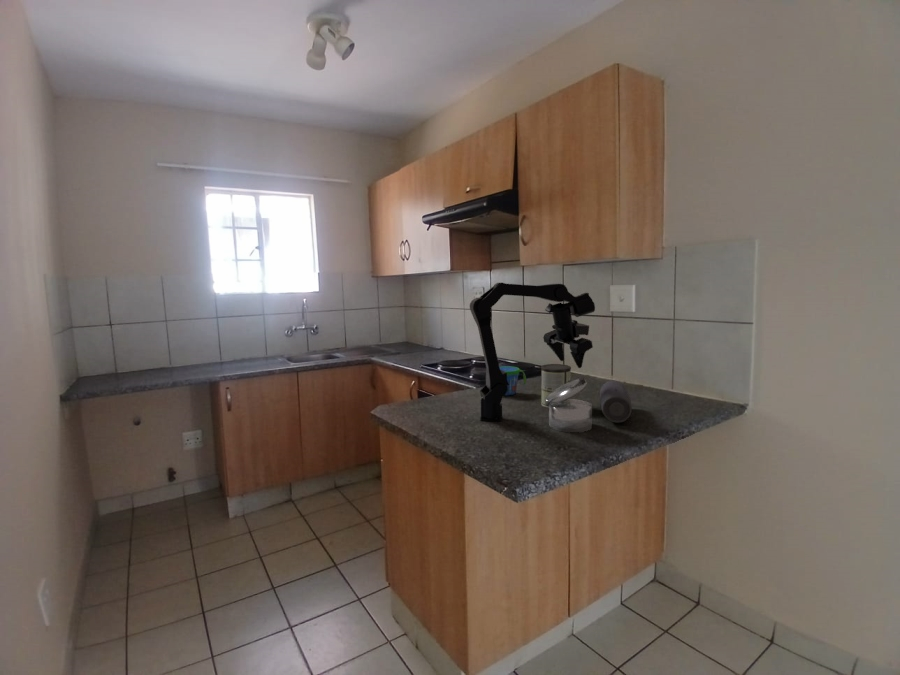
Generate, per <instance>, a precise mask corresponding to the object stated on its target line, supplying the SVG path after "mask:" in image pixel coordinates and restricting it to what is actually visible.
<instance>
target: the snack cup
mask: <svg viewBox="0 0 900 675" xmlns="http://www.w3.org/2000/svg"><path fill="white" fill-rule="evenodd" d="M499 368H500V370H503V371H505V372H506V373H507V381H508V383H509V385H507V386H508V391H507V392H506V394H505V395H504V396H513V395H515V394H516V393H517V389H518V388H517V387H518V381H519V380H518V379H519V375H520V373H522V376H523V386H525V385H526V384H527V377H526V376H527V375H526V373H525V372H524V370H522V369H520V368H519V367H517V366H508V365H507V366H506V365H505V366H499Z"/></svg>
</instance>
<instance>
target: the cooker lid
mask: <svg viewBox="0 0 900 675" xmlns="http://www.w3.org/2000/svg"><path fill="white" fill-rule="evenodd" d="M587 386H588V382H587V380H586V379H585V378H584V377H583V375H582V373H580V374H578V375H577V379H573V380H570V382H568V383H566V384H564V385H562V386H560V387H559V388H557V389H556V390H554V391H553V392H552V393H550V394H549V395H548V397H546V398H545V401H546V405H550V404H558V403H561V402H563V401H566V400H568V399H573V398H574V397H575V396H577V395H578V394H580V393H581V392H582V391H583V390H584V389H585V388H587Z"/></svg>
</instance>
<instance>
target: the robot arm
mask: <svg viewBox="0 0 900 675" xmlns="http://www.w3.org/2000/svg"><path fill="white" fill-rule="evenodd" d="M568 290H569V289H568V287H566V285H565V284H564V283H549V284H541V285H531V284H516V283H505V282H496V283H495V284H494V285H493V286H492V287H491V288H489V289H488V290H486V292H484V293H483V294H482V295H480V296H479V297H475V298H473V299H472V300H471V301H470V303H469V311H470V312H471V316H472V317H473V320H474V323H475V324H476V327H477V330H478V334H479V339H480V343H481V347H482V352H483V358H484V363H485V368H486V370H485V385H483V387H482V388H481V389H480V390H479V394H480V396H481V399H480V418H479V421H488V422H489V421H490V422H492V421H493V422H501V420H502V419H501V418H503V403H502V400H503V397H504V396H506V395H505V394H506V392H507V391H508V386H507V385H509V383H508V381H507V373H506V372H505V371H503V370H500V368H499V367H500V365H499V359H498V355H497V354H498V353H497V350H496V345H495V340H494V333H493V329H492V316H493V315H492V308H493V307H494V306H495V305H496V304H497V303H498V301H500V299H501V298H503V297H504V296H513V297H514V296H518V297H531V298H539V299H542V300H545V301H550V302H555V304H552V303H548V305H547V306H546V308H544V311H545V312H547V313H549V314H552V318H553V323H554V324H553V325H551V329H553V330H551V331H549V332H546V333H544V335H543V336H542V337H543V342H544V343H546V345H547V346H548V347H549V348H550V349H551V350H552V352H553V353H554V354H555V355H556V356H557V358H558V359H559V361H560V362H564V360H565V354H564V344H565V345H566V344H567V345H569V349H570V355H571V357H572V358H573V361H574V363H575V365H576V367H577V368H578V369H581V368H583V367H582V366H583V363H584V358H585V354H586V352H587V351H589V350H591V349H593V347H594V346H593V341H592V340H590V339H587V338H584V337H581V336H582V335H583V336H584V335H585V336H589V331H590V325H588V324H584V323H579V322H578V320H576V319H573V318H572V316H574V317H575V318H579V317H582V316H583V317H584V316H585V315H588V314H592V313H594V312H595V311H596V306H595V302H594V300H593V299H592V298H591V296H590V295H589V292H584V293H581V294H579V295H576V296H575V295H573V294H572V293H571V292H569V291H568ZM556 302H557V303H556ZM562 302H565V303H562ZM580 337H581V338H580ZM577 338H578V339H577Z"/></svg>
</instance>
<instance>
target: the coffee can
mask: <svg viewBox="0 0 900 675" xmlns="http://www.w3.org/2000/svg"><path fill="white" fill-rule="evenodd" d="M540 369H541V398H540V399H541V402H540V403H541V406H542V407H543V408H546V409H549V405H546V401H545V398H546V397H548V395H549V394H550V393H552V392H553V391H554V390H556V389H557V388H559V387H560V386H562V385H564V384H566V383H568V382H570V381H571V372H572V371H571V369H572V366H570V365H568V364H561V363H548V364H543V365H541V367H540Z"/></svg>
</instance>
